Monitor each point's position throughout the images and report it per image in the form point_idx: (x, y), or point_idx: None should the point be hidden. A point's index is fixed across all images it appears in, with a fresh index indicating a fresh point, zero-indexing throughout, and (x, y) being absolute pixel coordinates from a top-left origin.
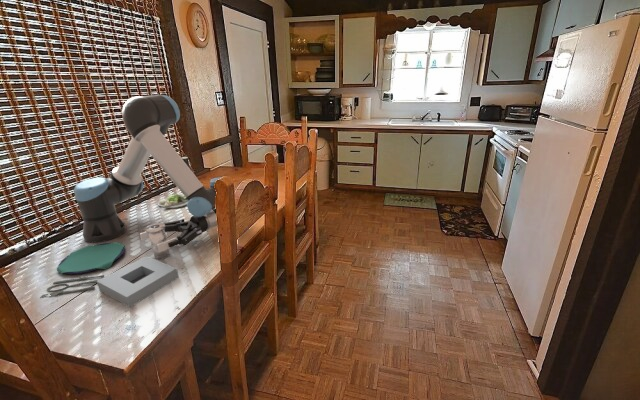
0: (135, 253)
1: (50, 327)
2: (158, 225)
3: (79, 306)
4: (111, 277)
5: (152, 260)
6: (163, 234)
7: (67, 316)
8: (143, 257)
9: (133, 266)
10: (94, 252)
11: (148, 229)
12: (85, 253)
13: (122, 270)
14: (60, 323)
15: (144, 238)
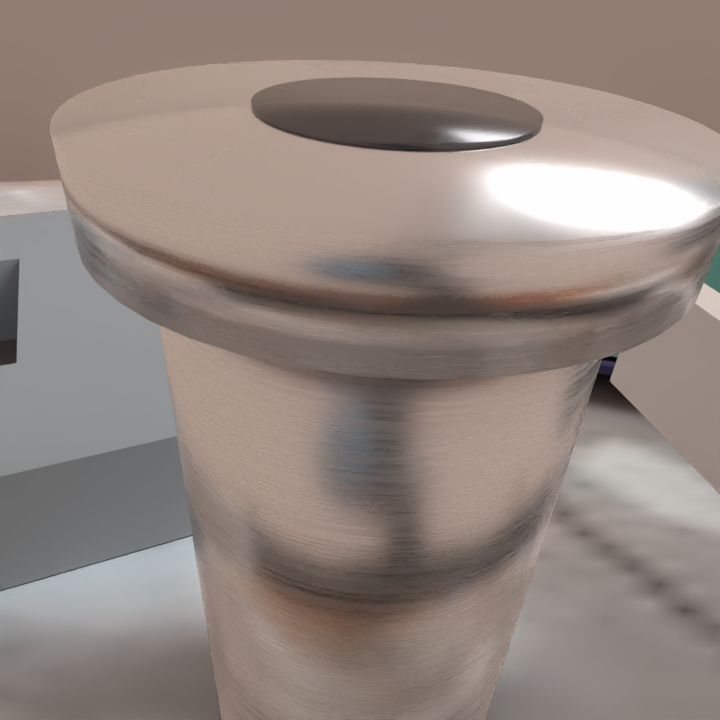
0: (619, 472)
1: (31, 188)
2: (412, 129)
3: None
4: None
5: (9, 452)
6: (203, 453)
7: (45, 210)
8: None
9: (95, 323)
10: (718, 282)
11: (315, 69)
12: (716, 259)
13: None
14: (19, 199)
15: (642, 385)
